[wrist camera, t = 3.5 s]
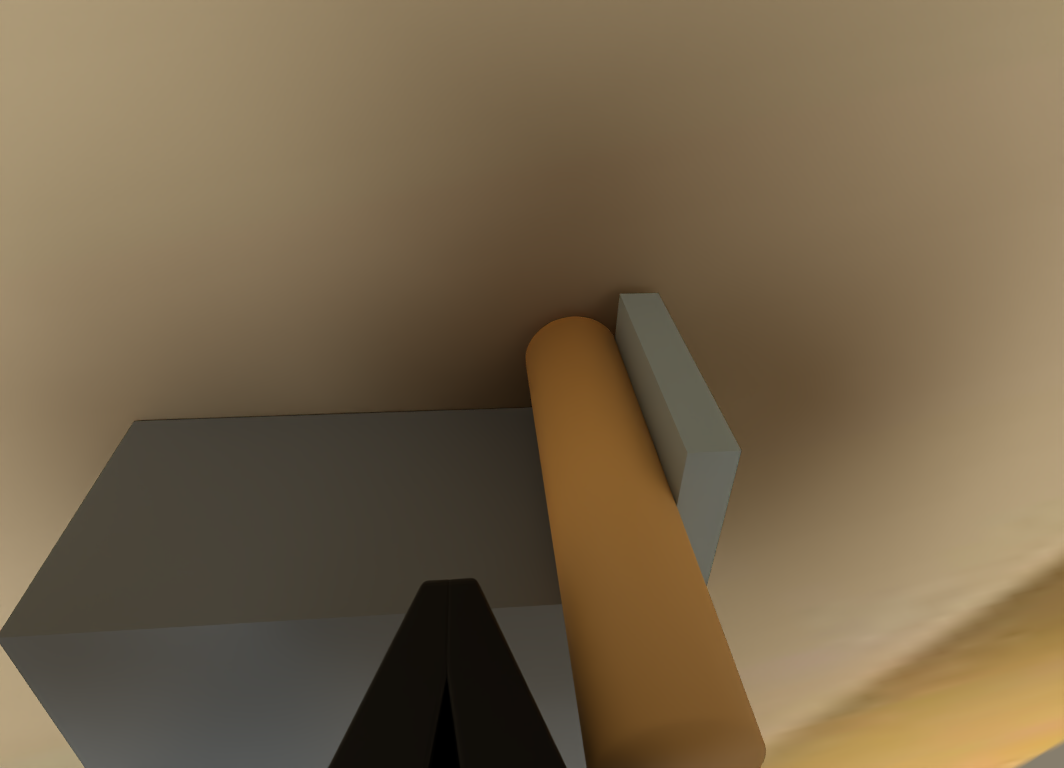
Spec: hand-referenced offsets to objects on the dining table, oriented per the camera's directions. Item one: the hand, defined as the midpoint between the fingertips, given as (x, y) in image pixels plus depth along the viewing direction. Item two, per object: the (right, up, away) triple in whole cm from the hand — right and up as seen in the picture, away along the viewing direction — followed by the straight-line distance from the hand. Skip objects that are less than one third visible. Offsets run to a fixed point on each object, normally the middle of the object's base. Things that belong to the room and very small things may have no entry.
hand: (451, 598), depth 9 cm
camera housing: (-3, -3, +10) cm, 11 cm away
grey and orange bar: (+2, -2, +9) cm, 10 cm away
